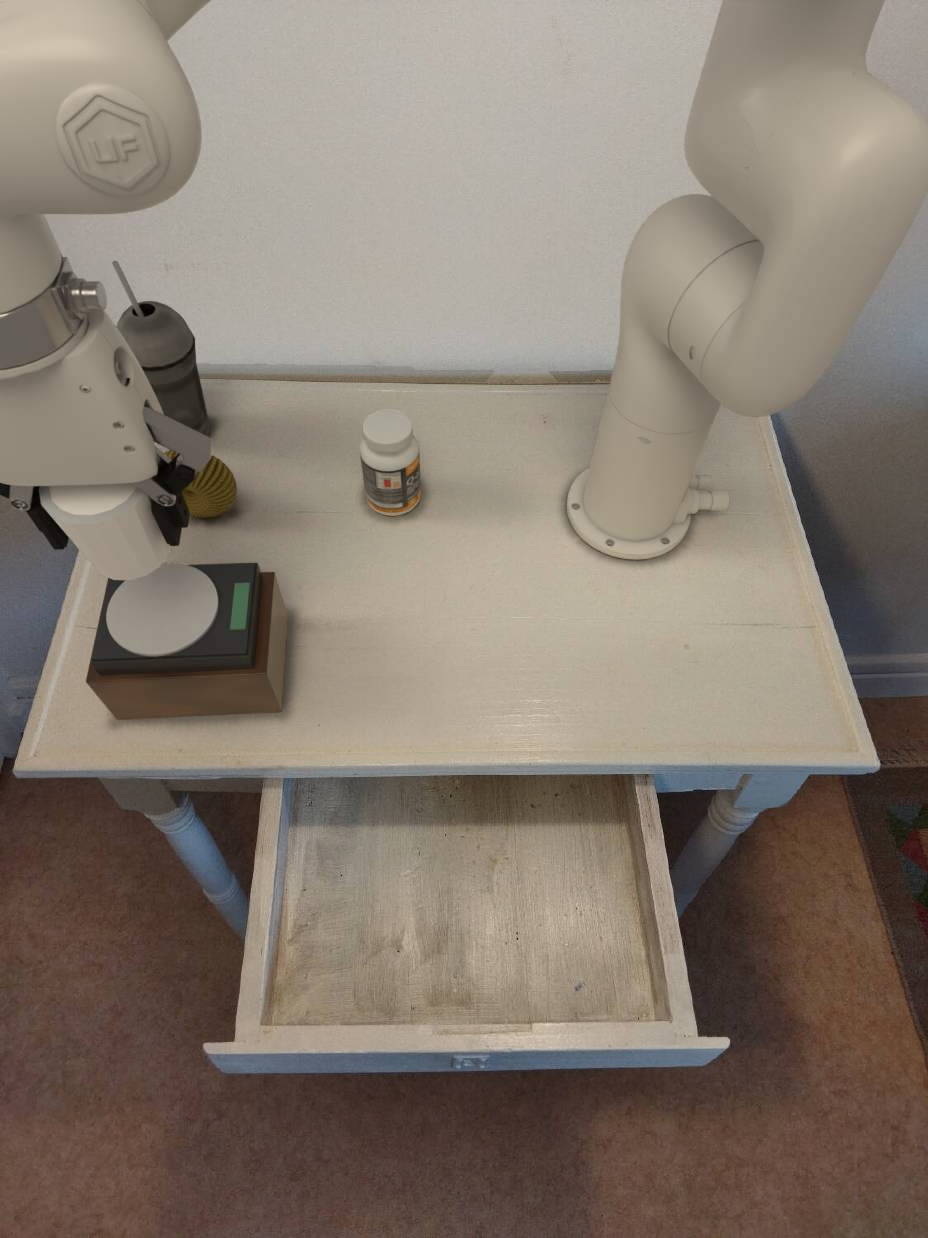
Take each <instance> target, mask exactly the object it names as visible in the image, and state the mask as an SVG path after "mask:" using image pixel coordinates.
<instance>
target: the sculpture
mask: <svg viewBox="0 0 928 1238" xmlns="http://www.w3.org/2000/svg"><path fill="white" fill-rule="evenodd" d="M163 453H164V454H165V455H166V456H168V457H169V458H170V459H171V460H172V459H173V458H174V457H175V456H176V455H177V454H178V453H177V452H175V451H173V450H171V449H169V450H167V451H165V452H163ZM157 474H158V473H157ZM157 474H156V475H157ZM156 475H155V476H156ZM237 485H238V484H237V480H236V478H235V475H234V473H233V472H232V471H231V469H230V468H229V466H227V464H226V463H225V462H223V461H222V459H220V458H217V456H216V455H213V454H212V455H211V459H210V460H209V461H208V462H207V464H206V465H205V466H204V467H203V468H202V469H201V470H200V472H198V473H197V474H196V475H195V476H194V480H193V482H192V483H191V484H189V485H188V486H187V487H186V488H185V489H184V490H183V491H182V494H183V496H184V499H185V501H186V504H187V506H188V509H189V516H190V517H193V518H195V517H196V518H203V519H204V518H214V517H218V516H220V515H223V514H225V513H226V512H227V511H229V509H231V507H232V506H233V505H234V503H235V501H236V499H237V495H238V486H237Z"/></svg>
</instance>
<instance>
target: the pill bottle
mask: <svg viewBox="0 0 928 1238" xmlns="http://www.w3.org/2000/svg"><path fill="white" fill-rule="evenodd" d="M362 437H363V438H362V441H361V442H360V445H359V446H360V447H359V456H360V457H359V458H360V463H361V471H362V481H363V487H364V494H365V495H364V496H365V498H366V503H367V504H368V506H370V508H371V509H372V510H373V511H375V512H376V513H378V514H380V515H383V516H390V517H396V516H401V515H405V514H407V513H409V512H411V511H412V510H414V508H415V507H416V506H417V505H418V504H419V502H420V499H421V495H422V493H421V491H422V487H421V486H422V485H421V462H420V461H421V457H420V456H421V455H420V444H419V441H418V439H417V437H416V435H415V434H414V425H413V422H412V419H411V418H410V417H409V416H408V414H406V413H405V412H403V411H401V410H398V409H394V408H381V409H378V410H375V411H373V412H371V413H370V414H369V415H368V416H366V418H365V419H364V421H363V423H362Z"/></svg>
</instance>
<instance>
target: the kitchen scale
mask: <svg viewBox="0 0 928 1238" xmlns="http://www.w3.org/2000/svg"><path fill="white" fill-rule="evenodd" d="M261 572H262V570H261V568H260V565H259V563H258V562H232V563H231V562H229V563H204V564H203V563H202V564H183V563H174V562H173V563H171V562H170V563H163V564H162V565H161V566H160V567H159V568H157V569H156V570H154V571H153V572H151V573H150V574H148V575H147V576H143V577H140V578H137V579H133V580H113V579H110V578H108V577H107V581H108V583H107V582H106V585H107V588H106V587H105V590H106V592H105V591H104V595H105V597H104V596H103V599H104V601H103V600H102V604H103V606H102V605H101V608H102V611H101V610H100V613H101V615H100V614H99V618H100V620H99V619H98V622H99V625H98V624H97V627H98V629H97V628H96V632H97V634H96V633H95V636H96V639H95V638H94V641H95V643H94V642H93V645H94V648H93V647H92V650H93V652H92V651H91V655H92V657H91V656H90V659H91V662H90V661H89V664H91V665H92V666H93V668H94V669H95V670H96V671H97V673H98V674H99V675H120V674H143V673H167V672H191V671H214V670H238V669H254V666H255V654H256V643H257V632H258V621H259V609H260V598H261V587H262V574H261Z"/></svg>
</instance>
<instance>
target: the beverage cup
mask: <svg viewBox="0 0 928 1238" xmlns="http://www.w3.org/2000/svg"><path fill="white" fill-rule="evenodd" d="M111 264H112V266H113V268H114V270H115V272H116V275H117V276H118V279H119V281H120V283H121V286H122V287H123V289H124V291H125V293H126V295H127V298H128V300H129V301H130V303H131V305H130V306H128V307H127V308H126V309H125V310H124V311H123V312H122V314H121V315H120V317H119V319H118V321H117V323H116V327H117V328H118V330H119V331H120V332H121V334H122V336H123V337H124V339H125V340H126V342H127V343H128V345H129V347H130V348H131V350H132V352H133V353H134V355H135V357H136V359H137V360H138V362H139V364H140V366H141V368H142V369H143V371H144V373H145V375H146V377H147V379H148V381H149V383H150V385H151V387H152V389H153V391H154V393H155V395H156V397H157V399H158V402H159V404H160V406H161V408H162V411H163V413H164V415H165V416H167V417H169V418H171V419H173V420H176V421H178V422H180V423H182V424H184V425H186V426H188V427H190V428H192V429H194V430H196V431H198V432H200V433H202V434H204V435H206V436H208V437H210V436H209V435H210V433H211V428H210V425H209V414H208V411H207V407H206V406H207V405H206V401H205V397H204V392H203V388H202V381H201V378H200V373H199V368H198V364H197V351H196V337H195V335H194V334H193V332H192V330H191V329H190V327H189V325H188V323H187V322H186V320H185V318H183V316H182V315H181V314H180V313H179V312H178V311H176V310H175V309H174V308H172V307H171V306H169V305H168V304H165V303H162V302H158V301H153V300H144V301H139V302H138V300H137V299H136V296H135V294H134V292H133V290H132V288H131V286H130V284H129V282H128V280H127V278H126V276H125V273H124V271H123V270H122V267H121V264H119V261H118V260H113V261H112V262H111Z"/></svg>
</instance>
